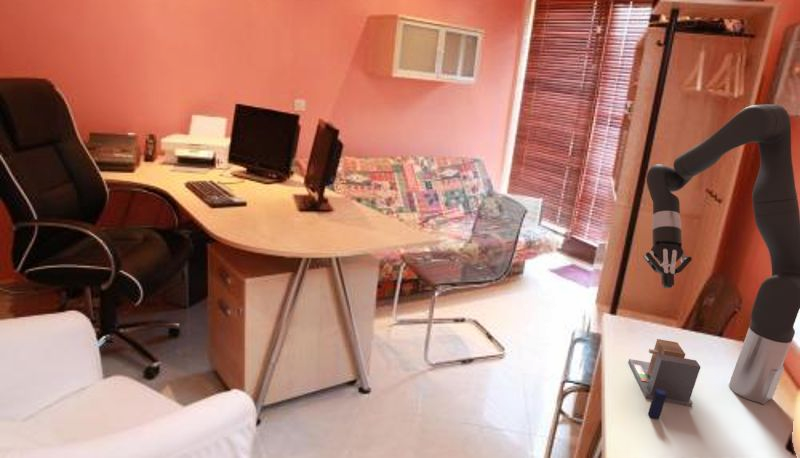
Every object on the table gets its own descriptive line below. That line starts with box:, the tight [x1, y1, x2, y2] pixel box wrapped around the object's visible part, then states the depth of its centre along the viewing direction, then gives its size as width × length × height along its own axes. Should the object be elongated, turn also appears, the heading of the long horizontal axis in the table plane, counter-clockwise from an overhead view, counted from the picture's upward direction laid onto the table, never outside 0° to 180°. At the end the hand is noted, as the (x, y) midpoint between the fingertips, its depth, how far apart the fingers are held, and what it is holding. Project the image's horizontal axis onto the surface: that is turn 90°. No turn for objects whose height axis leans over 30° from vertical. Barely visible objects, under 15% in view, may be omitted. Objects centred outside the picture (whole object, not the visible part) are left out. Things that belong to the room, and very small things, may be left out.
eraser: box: [648, 389, 666, 420], centre depth 125 cm, size 2×2×7 cm
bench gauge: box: [627, 354, 701, 407], centre depth 138 cm, size 17×11×11 cm, turn 172°
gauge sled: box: [647, 338, 686, 377], centre depth 138 cm, size 6×7×10 cm
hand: (668, 287), depth 151 cm, fingers closed
